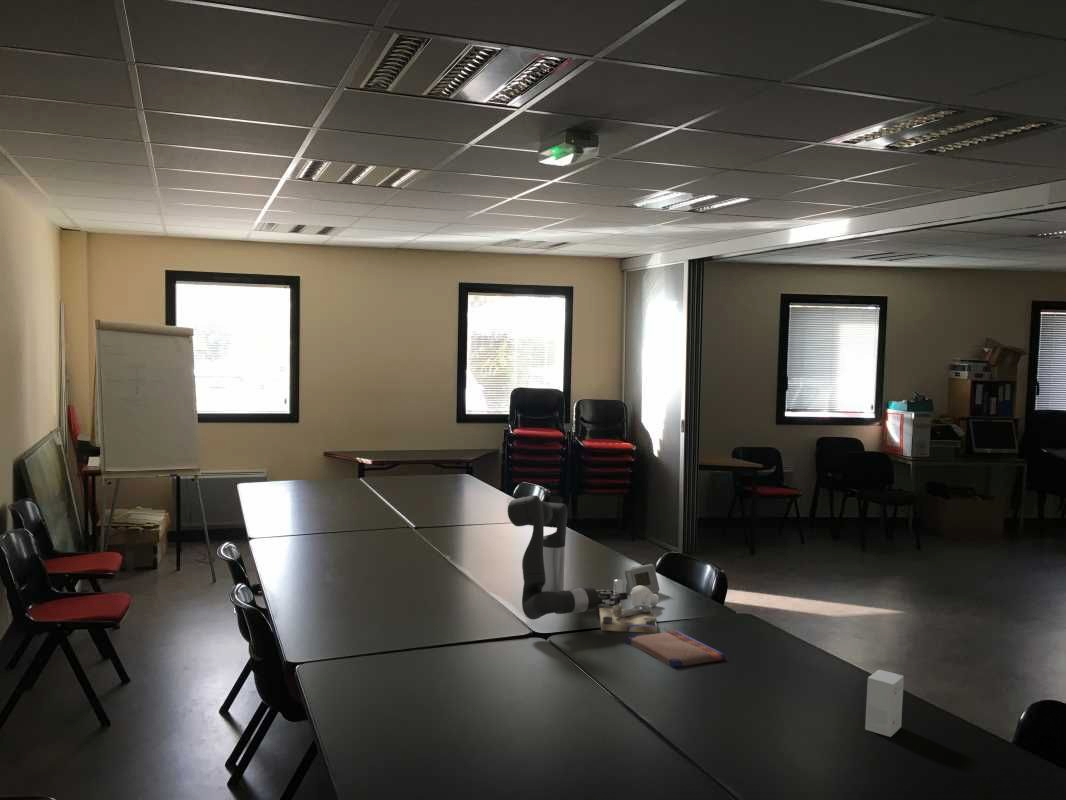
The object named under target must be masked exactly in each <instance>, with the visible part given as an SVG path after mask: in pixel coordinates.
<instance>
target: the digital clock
mask: <svg viewBox="0 0 1066 800" xmlns="http://www.w3.org/2000/svg"><path fill="white" fill-rule="evenodd" d="M624 576H625V580H626V584H625V592H626V593H628V596H629V595H630V593H631V592H632V589H633V588H634V587H636V586H638V585H642V586H645V587H647V588H648V589H649V590H650V591H651V592H652V593H653V594H657V593H659V592H660V586H659V582H658V576H657V572H656V569H655V565H654V564H652V563H650V564H643V565H638V566H634V567H631V568H627V569H625V570H624ZM629 597H630V598H631V595H630V596H629Z"/></svg>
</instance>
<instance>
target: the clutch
mask: <svg viewBox="0 0 1066 800" xmlns="http://www.w3.org/2000/svg"><path fill="white" fill-rule="evenodd" d="M633 626H654V625H645V624H636V625H630V626H628V627H627V631H626V632H627V633H628V634H629V635H632V636H629V637H628V638H627V643H628V645H631V646H633V647H635V648H636V649H639V650H640V651H643V652H644V653H646V654H648V655H650V656H651V657H653V658H655V659H657V660H659V661H660V662H662V663H664V664H665V665H667V666H669V667H671V668H684V667H688V666H693V665H699V664H706V663H711V662H712V663H714V662H715V663H716V662H720V661H725V660H726V656H725V655H726V654H724V653H723V652H721V651H720V650H717V649H715V648H713V647H711V646H709V645H707V644H704V643H703V642H701V641H699V640H697V639H695V638H693V637H690V636H689V635H687V634H685V633H684V632H681V631H679V630H677V629H674V630H672V629H671V630H669V629H666V628H663V627H660V626H658V625H657V626H654V627H657V629H658V628H659V629H662V630H664V632H657V633H648V634H633V633H630V632H629V629H630V628H631V627H633Z"/></svg>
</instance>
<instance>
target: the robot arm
mask: <svg viewBox="0 0 1066 800" xmlns="http://www.w3.org/2000/svg"><path fill="white" fill-rule="evenodd" d="M507 517H508V519H509V521H510V522H511V523H512V524H513V525H514V526H515V527H525V526H531V527H532V534H531V536H530V540H529V543H528V544H527V546H526V548H525V551H524V554H523V557H522V560H521V563H522V564H521V566H522V567H521V568H522V577H523V587H522V588H523V589H522V598H521V599H522V600H521V607H522V612H523V613H524V616H525V617H526V618H528V619H530V620H534V621H535V620H538V619H539V618H542V617H543V616H545V615H549V614H556V615H564V614H572V613H573V614H574V613H575V614H576V613H577V614H578V613H583V612H584V613H585V612H591V611H595V610H597V609H598V607H599V605H600V606H604V605H609V607H613V606H615V605H617V604H619V603H621V600H622V601H625V600H628V596H629V595H628V593H626V591H625V592H622V593H615V594H613V589H612V590H610V589H606V588H594V587H592V586H586V587H579V588H572V589H569V590H564V589H565V588H564V586H565V585H564V584H565V563H566V562H565V561H566V559H565V558H566V555H565V554H566V540H567V539H566V538H567V525H568V524H567V523H568V506H567V505H566V504H565V503H562V502H561V503H560V502H549V501H548V502H546V501H545V500H541V499H540V497H539V496H538V495H536V494H535V495H529V496H523V497H519V498H513V499H512V500H511V501H509V503H508V506H507ZM544 527H545V528H555V529H556V530H555V532H553V533H551V534H546V535H544V533H545V532H544V529H545V528H544ZM613 596H614V597H613Z"/></svg>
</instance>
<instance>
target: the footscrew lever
mask: <svg viewBox="0 0 1066 800" xmlns="http://www.w3.org/2000/svg"><path fill="white" fill-rule="evenodd" d="M623 585H624V580H623V579H620V578H615V579H613V588H612V590H613V594H615V593H623V587H624V586H623ZM613 597H614V596H613ZM612 609H613V611H612V614H614V616H615V617H618V618H621V617H626V616H630V615H634V614H638V613H650V612H651V610H652V606H650V605H649V606H646V604H645V605H643V604H642V605H639V606H637V607H636V608H635V607H634V608H631V609H629V610H625V611H622V609H623V600H621V603H619V604H617V605H615V606H612Z"/></svg>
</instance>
